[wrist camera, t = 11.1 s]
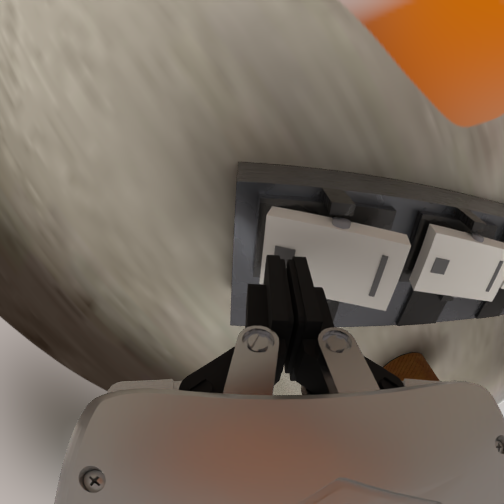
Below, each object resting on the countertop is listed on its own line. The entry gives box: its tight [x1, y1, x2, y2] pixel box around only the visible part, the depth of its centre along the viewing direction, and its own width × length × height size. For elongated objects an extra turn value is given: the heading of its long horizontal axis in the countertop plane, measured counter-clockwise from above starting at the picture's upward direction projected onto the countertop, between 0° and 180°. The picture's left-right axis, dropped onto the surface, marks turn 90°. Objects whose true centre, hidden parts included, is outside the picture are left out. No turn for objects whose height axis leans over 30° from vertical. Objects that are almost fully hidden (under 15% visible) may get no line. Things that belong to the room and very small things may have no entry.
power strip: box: [230, 162, 504, 327], centre depth 19 cm, size 35×10×6 cm, turn 86°
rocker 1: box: [259, 206, 411, 311], centre depth 15 cm, size 7×4×1 cm, turn 86°
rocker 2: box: [409, 224, 504, 302], centre depth 15 cm, size 7×4×1 cm, turn 86°
